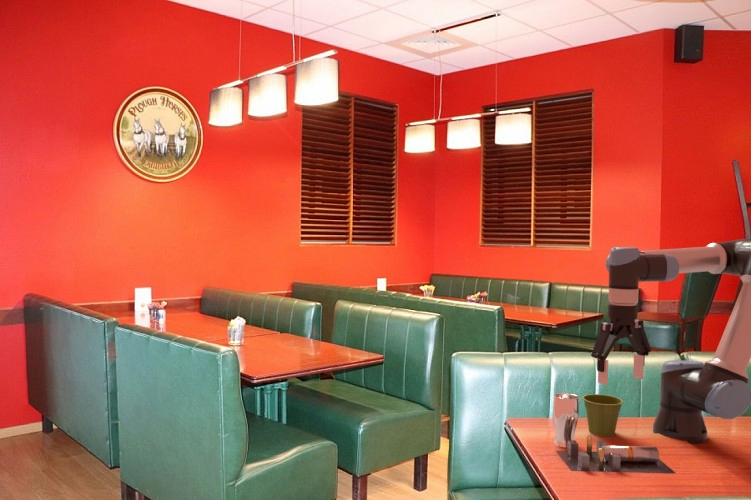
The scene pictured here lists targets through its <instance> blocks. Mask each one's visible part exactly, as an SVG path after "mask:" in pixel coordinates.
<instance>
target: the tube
mask: <svg viewBox="0 0 751 500" xmlns="http://www.w3.org/2000/svg"><path fill="white" fill-rule="evenodd" d="M601 448H603V449H604V461H608V460H609V453H617V454H618V455H619V456H620V457H621V461H620V462H653V463H657V462H658V461H659V459H660V452H659V449H658V447H656V446H636V445H634V446H633V445H608V446H604V445H603V446H602V447H601Z"/></svg>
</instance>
